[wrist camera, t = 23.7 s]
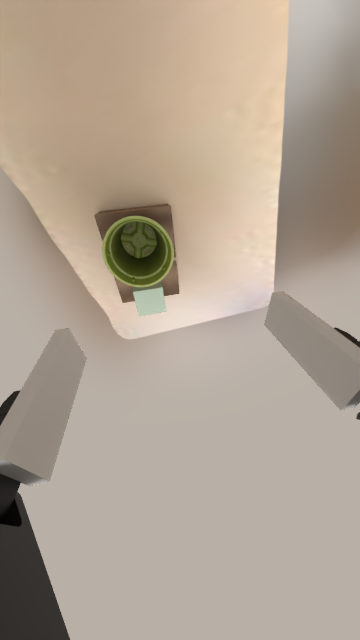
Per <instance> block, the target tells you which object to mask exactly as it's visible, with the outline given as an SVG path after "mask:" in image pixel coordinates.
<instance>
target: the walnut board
mask: <svg viewBox="0 0 360 640" xmlns="http://www.w3.org/2000/svg"><path fill="white" fill-rule="evenodd" d="M94 216H95V219H96V222H97V225H98V228H99V231H100V234H101V237H102V240H104V237H105V235H106V233H107V231H108V230H109V228H110V227H111V226H112V225H113V224H114V223H115V222H117V221H118V220H120V219H122V218H125V217H128V216H143V217H147V218H149V219H152V220H154V221H155V222H157V223H158V224H159V225H161V226H162V227H163V228H164V229H165V230H166V232H167V233H168V235H169V236H170V238H171V241H172V244H173V248H174V260H173V264H172V267H171V269H170V271H169V272H168V274H167V275H166V276H165V277H164V278H163V279H162V280H161V283H162V287H163V294H164V296H168V295H174V294H179V285H178V275H177V264H176V254H175V244H174V234H173V224H172V214H171V206H170V205H168V204H164V205H156V206H147V207H139V208H130V209H122V210H114V211H105V212H99V213H97V214H96V215H94ZM132 227H133V225H130V226H129V227H128V228H127V230H126V231H128V230H129V229H130V228H132ZM147 230H148V231H149V232H150V234H151V235H152V232H151V230H150V229H149V228H147ZM140 241H141V240H140V239H138V242H140ZM126 247H127V249H129V251H132V250H131V249H130V248H129V247H128V245H126ZM150 250H151V248H150V249H149V250H147V251H146V252H145V254H146V253H148V252H150ZM114 277H115V276H114ZM115 280H116V283H117V286H118V290H119V293H120V296H121V299H122V302H123V303H125V302H131V301H135V298H134V294H133V286H130V285H127V284H125V283H123V282H121V281H120V280H118V279H117V278H116V277H115Z"/></svg>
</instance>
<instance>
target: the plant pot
mask: <svg viewBox="0 0 360 640" xmlns="http://www.w3.org/2000/svg"><path fill="white" fill-rule="evenodd" d="M130 225H133V227H132V228H130V229H129V230H128V231H126V230H127V228H128V227H129V226H130ZM147 228H149V229H150V230H151V232H152V235H151V234H150V232H149V231H148V230H147ZM138 239H140V240H141V241H140V242H138ZM126 245H128V247H129V248H130V249H131V250H132V251H129V249H127V247H126ZM150 248H151V250H150V252H148V253H146V254H145V252H146V251H147V250H149V249H150ZM102 251H103V258H104V261H105V264H106V266H107V268H108V269H109V271H110V272H111V273H112V274H113V275H114V276H115V277H116V278H117V279H118V280H120V281H121V282H123V283H125V284H127V285H130V286H134V287H148V286H152V285H154V284H156V283H158V282H160V281H161V280H162V279H163V278H164V277H165V276H166V275H167V274H168V272H169V271H170V269H171V267H172V264H173V260H174V248H173V244H172V241H171V238H170V236H169V235H168V233H167V232H166V230H165V229H164V228H163V227H162V226H161V225H159V224H158V223H157V222H155V221H154V220H152V219H149V218H147V217H143V216H128V217H125V218H122V219H120V220H118V221H117V222H115V223H114V224H113V225H112V226H111V227H110V228H109V230H108V231H107V233H106V235H105V237H104V240H103V247H102Z"/></svg>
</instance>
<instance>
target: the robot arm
mask: <svg viewBox="0 0 360 640" xmlns="http://www.w3.org/2000/svg"><path fill="white" fill-rule="evenodd" d="M264 325H265V326H266V327H267V328H268V330H269V331H270V332H271V333H272V334H273V335H274V336H275V337H276V339H277V340H278V341H279V342H280V343H281V344H282V345H283V346H284V348H285V349H286V350H287V351H288V352H289V353H290V354H291V355H292V357H293V358H294V359H295V360H296V361H297V362H298V363H299V364H300V366H301V367H302V368H303V369H304V370H305V371H306V372H307V373H308V374H309V376H310V377H311V378H312V379H313V380H314V381H315V382H316V383H317V385H318V386H319V387H320V388H321V389H322V390H323V391H324V392H325V394H326V395H327V396H328V397H329V398H330V399H331V400H332V401H333V403H334V404H335V405H336V406H337V407H338V408H339V409H340V410H345V409H349V408H353V407H355V406H357V404H359V402H360V342H359V341H357V339H355V338H354V337H352V336H351V335H350V334H348V333H347V332H344V331H342V330H340V329H338V328H332V327H331V326H330V325H328V324H327V323H325V322H324V321H323V320H321V319H320V318H319V317H317V316H316V315H314V314H313V313H312V312H311V311H309V310H308V309H307V308H305V307H304V306H303V305H301V304H300V303H299V302H297V301H296V300H294V299H293V298H292V297H290V296H289V295H288V294H286V293H285V292H284V291H281V292H274V293H272V296H271V300H270V304H269V308H268V312H267V316H266V320H265V324H264ZM86 359H87V358H86V356H85V355H84V353H83V351H82V350H81V348H80V346H79V345H78V343H77V341H76V340H75V338H74V336H73V334H72V333H71V331H70V330H69V328H66V329H60V330H55V332H54V333H53V335H52V337H51V339H50V340H49V342H48V344H47V346H46V348H45V349H44V351H43V353H42V354H41V356H40V358H39V360H38V361H37V363H36V365H35V367H34V368H33V370H32V372H31V373H30V375H29V377H28V379H27V380H26V382H25V384H24V386H23V387H22V389H21V390H20V391H15V392H13V393H12V394H11V395H10V396H9V397H8V398H7V400H5V401H4V402H3V404H2V405H1V407H0V640H70V638H69V635H68V633H67V629H66V626H65V623H64V621H63V618H62V615H61V612H60V609H59V606H58V603H57V600H56V597H55V594H54V591H53V588H52V585H51V582H50V579H49V576H48V574H47V571H46V568H45V565H44V562H43V559H42V556H41V553H40V550H39V547H38V544H37V541H36V539H35V536H34V533H33V530H32V527H31V524H30V521H29V518H28V515H27V512H26V509H25V506H24V503H23V500H22V497H21V495H20V494H19V493H18V492H17V491H18V488H19V485H20V483H23V484H26V485H28V486H33V485H37V484H41V483H45V482H49V481H50V478H51V475H52V472H53V468H54V465H55V461H56V458H57V455H58V452H59V448H60V445H61V442H62V439H63V435H64V432H65V429H66V425H67V422H68V419H69V415H70V412H71V409H72V405H73V402H74V399H75V395H76V392H77V389H78V386H79V382H80V379H81V376H82V372H83V369H84V366H85V362H86ZM357 419H360V412H359V413H358V415H357Z"/></svg>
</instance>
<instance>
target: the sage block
mask: <svg viewBox="0 0 360 640" xmlns="http://www.w3.org/2000/svg"><path fill="white" fill-rule="evenodd" d="M133 294H134V298H135V302H136V305H137V309H138V313H139V316H143V315H149V314H155V313H161V312H166V306H165V300H164V294H163V287H162V283H161V281H160V282H158V283H156V284H154V285H152V286H148V287H134V286H133Z"/></svg>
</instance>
